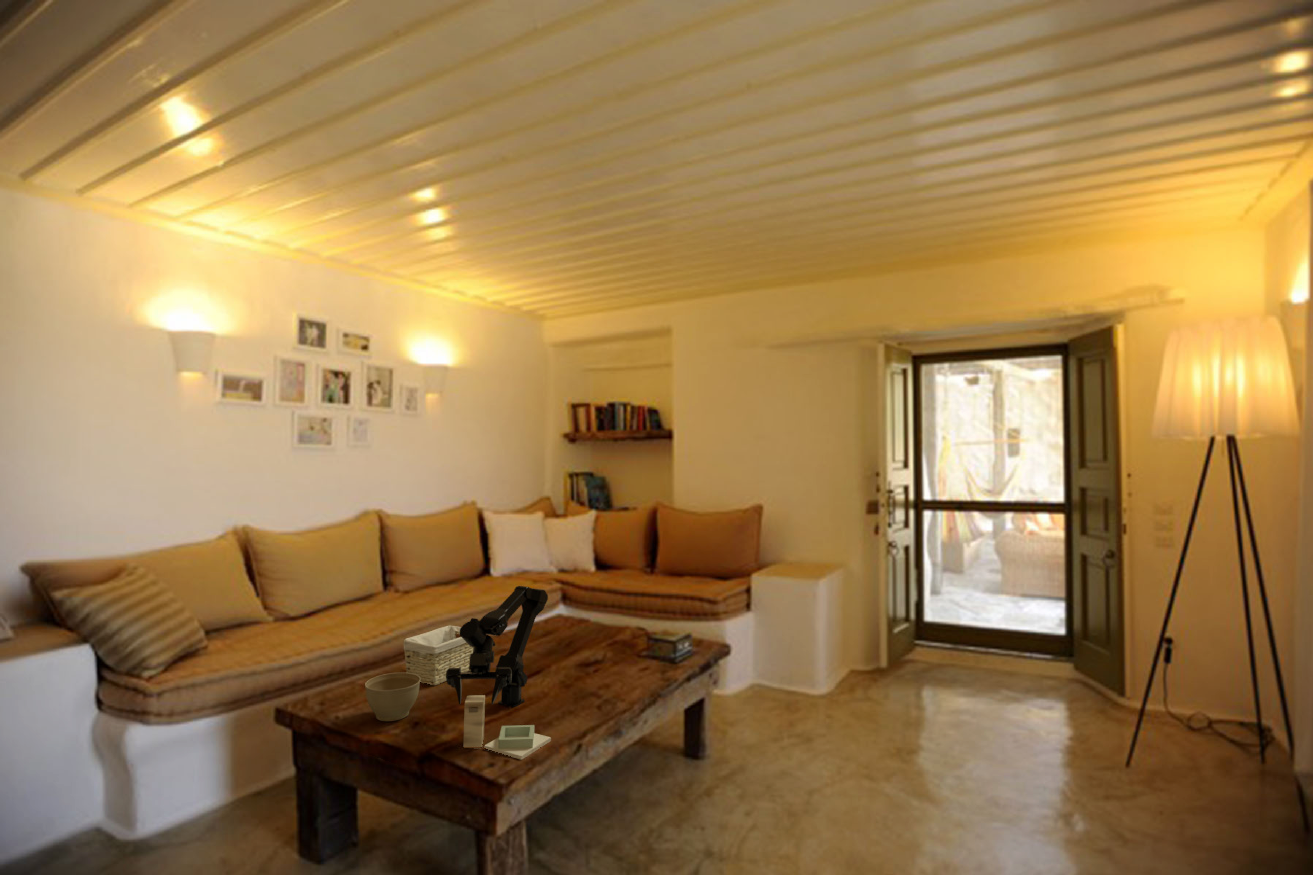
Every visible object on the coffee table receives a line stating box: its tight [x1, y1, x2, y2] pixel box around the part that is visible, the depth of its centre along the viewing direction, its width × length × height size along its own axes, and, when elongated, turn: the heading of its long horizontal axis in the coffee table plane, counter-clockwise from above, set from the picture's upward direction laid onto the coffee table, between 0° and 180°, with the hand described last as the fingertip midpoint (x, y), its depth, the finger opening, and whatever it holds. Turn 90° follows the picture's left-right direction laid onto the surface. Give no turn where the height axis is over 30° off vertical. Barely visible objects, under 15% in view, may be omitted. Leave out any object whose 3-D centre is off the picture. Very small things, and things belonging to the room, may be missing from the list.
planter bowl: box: [364, 672, 421, 722], centre depth 211 cm, size 16×16×11 cm
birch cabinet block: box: [462, 694, 486, 748], centre depth 192 cm, size 6×5×13 cm
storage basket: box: [403, 625, 473, 686], centre depth 250 cm, size 24×16×15 cm
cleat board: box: [483, 724, 552, 761], centre depth 193 cm, size 14×14×4 cm
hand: (475, 703), depth 196 cm, fingers open, 9 cm apart
